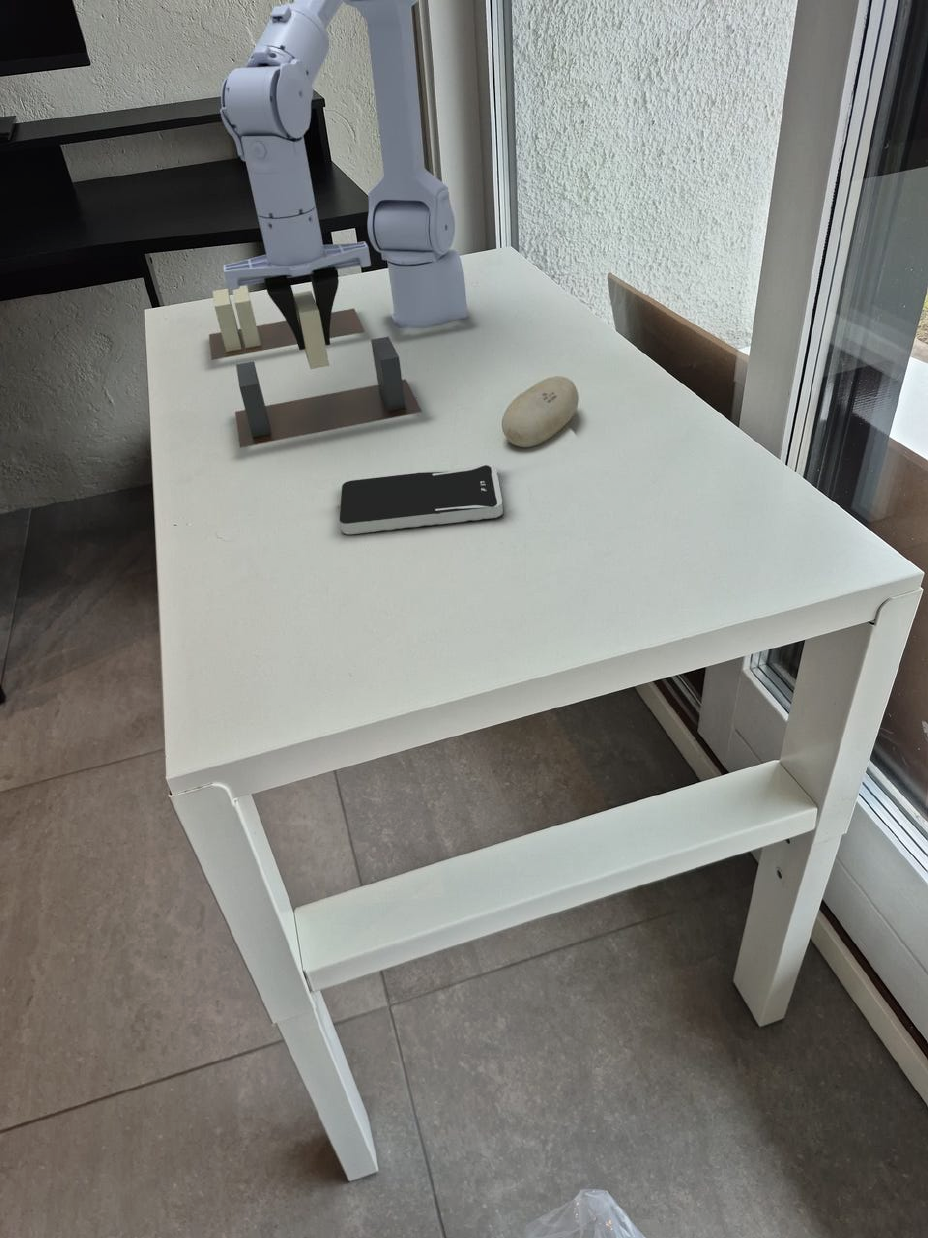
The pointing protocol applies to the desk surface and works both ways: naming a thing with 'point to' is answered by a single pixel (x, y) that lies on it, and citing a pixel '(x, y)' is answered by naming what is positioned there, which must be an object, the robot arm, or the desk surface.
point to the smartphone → (420, 499)
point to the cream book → (311, 329)
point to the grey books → (385, 372)
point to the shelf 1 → (285, 334)
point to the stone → (540, 412)
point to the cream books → (229, 321)
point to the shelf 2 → (324, 414)
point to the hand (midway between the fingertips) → (313, 344)
